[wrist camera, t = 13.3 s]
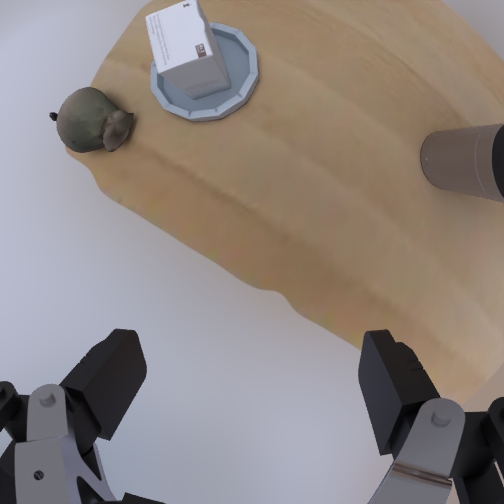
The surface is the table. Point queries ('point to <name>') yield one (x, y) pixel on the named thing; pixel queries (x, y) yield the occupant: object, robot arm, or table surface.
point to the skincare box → (187, 50)
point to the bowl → (222, 103)
